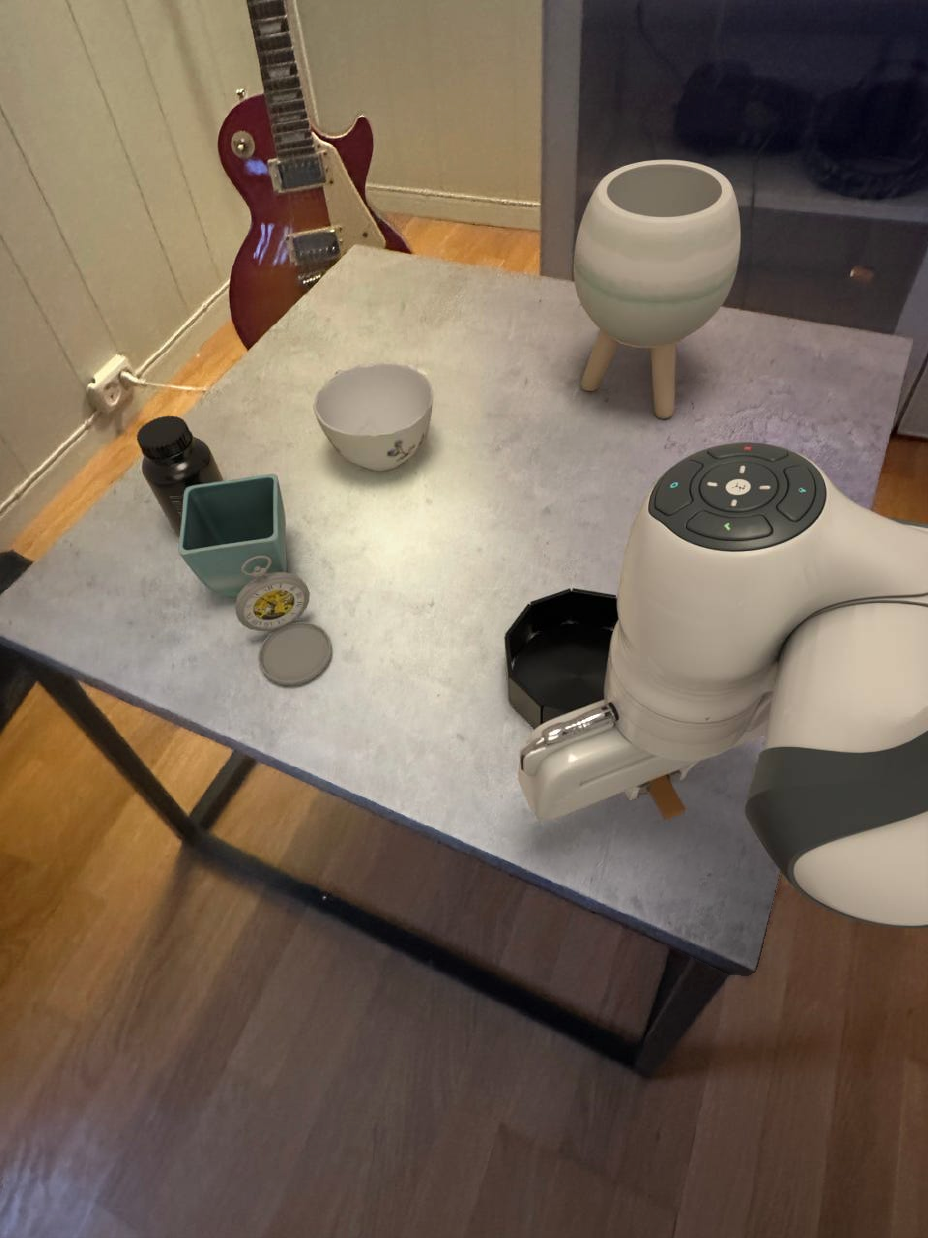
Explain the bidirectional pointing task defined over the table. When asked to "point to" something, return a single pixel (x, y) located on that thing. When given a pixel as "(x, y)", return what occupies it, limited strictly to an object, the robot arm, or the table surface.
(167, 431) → the supplement bottle
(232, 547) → the flower pot
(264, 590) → the pocket watch
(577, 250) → the planter
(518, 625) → the saucepan
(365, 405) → the white floral bowl
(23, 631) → the table surface
